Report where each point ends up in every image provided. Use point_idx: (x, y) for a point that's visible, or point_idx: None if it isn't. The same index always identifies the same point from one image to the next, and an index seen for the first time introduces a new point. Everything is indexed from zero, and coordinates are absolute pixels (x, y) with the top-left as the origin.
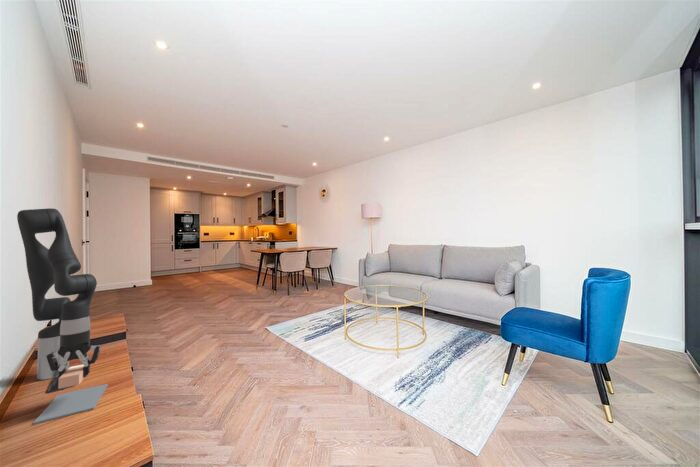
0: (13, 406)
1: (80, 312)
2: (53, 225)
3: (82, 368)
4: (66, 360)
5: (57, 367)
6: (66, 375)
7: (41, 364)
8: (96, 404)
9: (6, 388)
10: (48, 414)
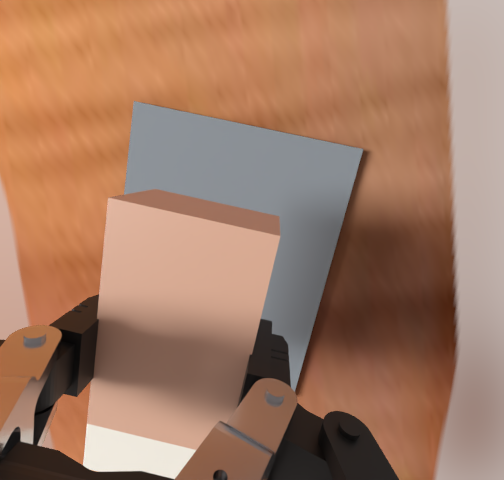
0: (436, 428)
1: None
2: None
3: (110, 365)
4: (187, 478)
5: (307, 445)
6: (220, 270)
7: None
8: (132, 155)
9: None
10: (311, 194)
